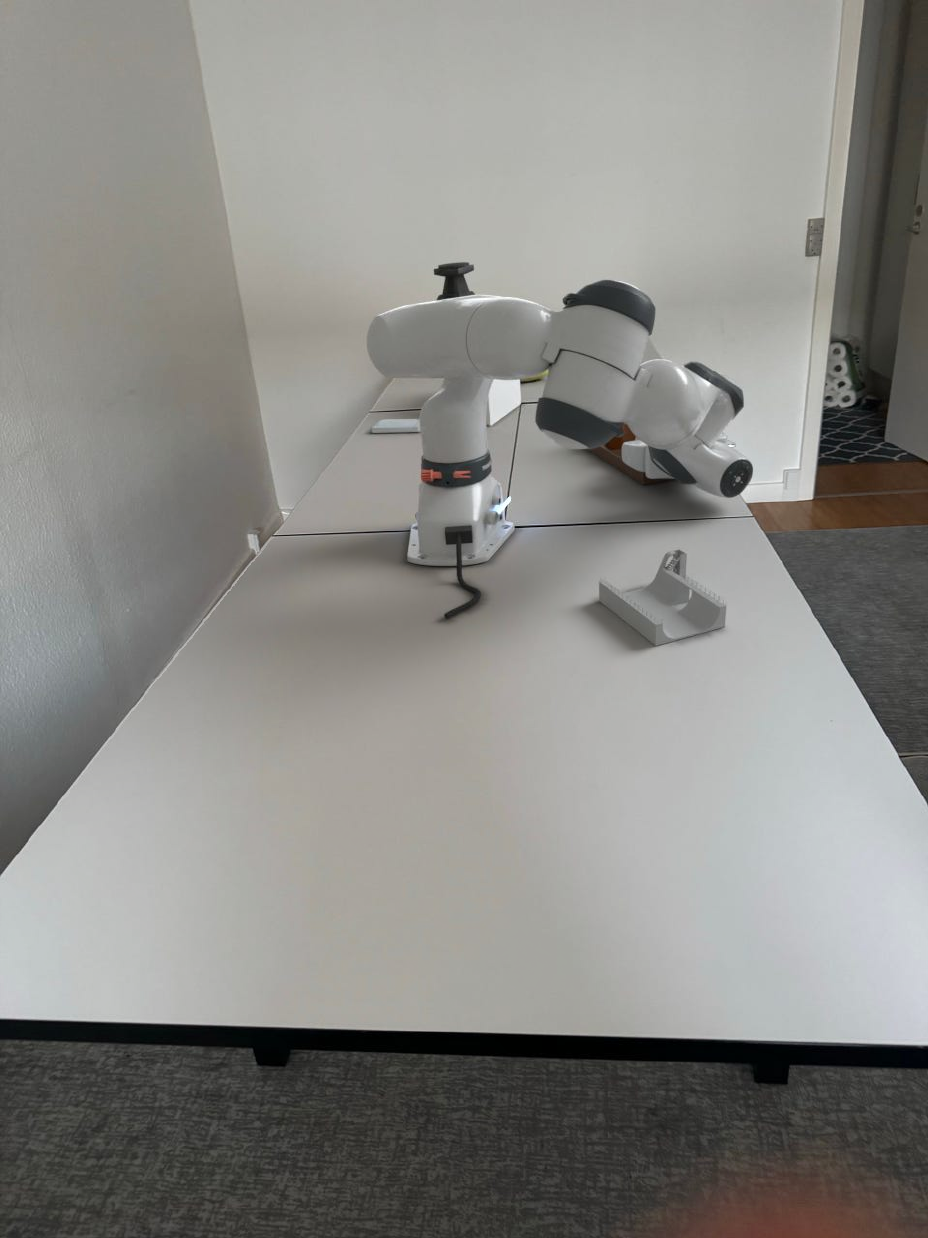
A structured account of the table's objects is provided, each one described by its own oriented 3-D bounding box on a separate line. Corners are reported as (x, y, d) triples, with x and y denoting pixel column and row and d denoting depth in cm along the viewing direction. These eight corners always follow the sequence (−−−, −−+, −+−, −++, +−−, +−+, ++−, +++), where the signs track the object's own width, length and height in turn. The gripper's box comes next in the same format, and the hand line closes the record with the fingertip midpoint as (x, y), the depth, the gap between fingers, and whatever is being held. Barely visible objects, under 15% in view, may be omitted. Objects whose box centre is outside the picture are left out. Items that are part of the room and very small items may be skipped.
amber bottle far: (634, 446, 183) (635, 389, 178) (611, 450, 182) (611, 392, 176) (623, 440, 188) (623, 384, 182) (600, 444, 187) (600, 387, 181)
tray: (701, 473, 165) (701, 461, 164) (643, 484, 163) (643, 472, 162) (629, 435, 193) (629, 425, 191) (579, 444, 190) (578, 433, 189)
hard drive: (371, 427, 213) (418, 426, 210) (381, 418, 220) (426, 417, 217) (372, 433, 214) (418, 432, 211) (382, 425, 221) (427, 423, 218)
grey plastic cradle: (599, 600, 121) (598, 568, 118) (678, 580, 125) (679, 548, 122) (655, 646, 108) (656, 611, 106) (741, 622, 112) (744, 587, 110)
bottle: (494, 349, 302) (488, 260, 288) (470, 359, 290) (462, 266, 276) (452, 348, 311) (444, 261, 298) (427, 358, 299) (418, 267, 286)
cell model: (551, 373, 247) (503, 358, 245) (542, 397, 252) (495, 382, 250) (550, 358, 255) (503, 344, 253) (542, 381, 260) (496, 367, 258)
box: (451, 429, 211) (445, 372, 204) (445, 394, 246) (441, 344, 239) (530, 422, 211) (527, 364, 204) (513, 387, 246) (510, 337, 240)
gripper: (741, 429, 156) (703, 413, 168) (641, 447, 152) (609, 429, 164) (739, 462, 159) (701, 444, 171) (641, 480, 155) (609, 460, 167)
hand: (655, 437), depth 168 cm, fingers closed on pill bottle, 6 cm apart
